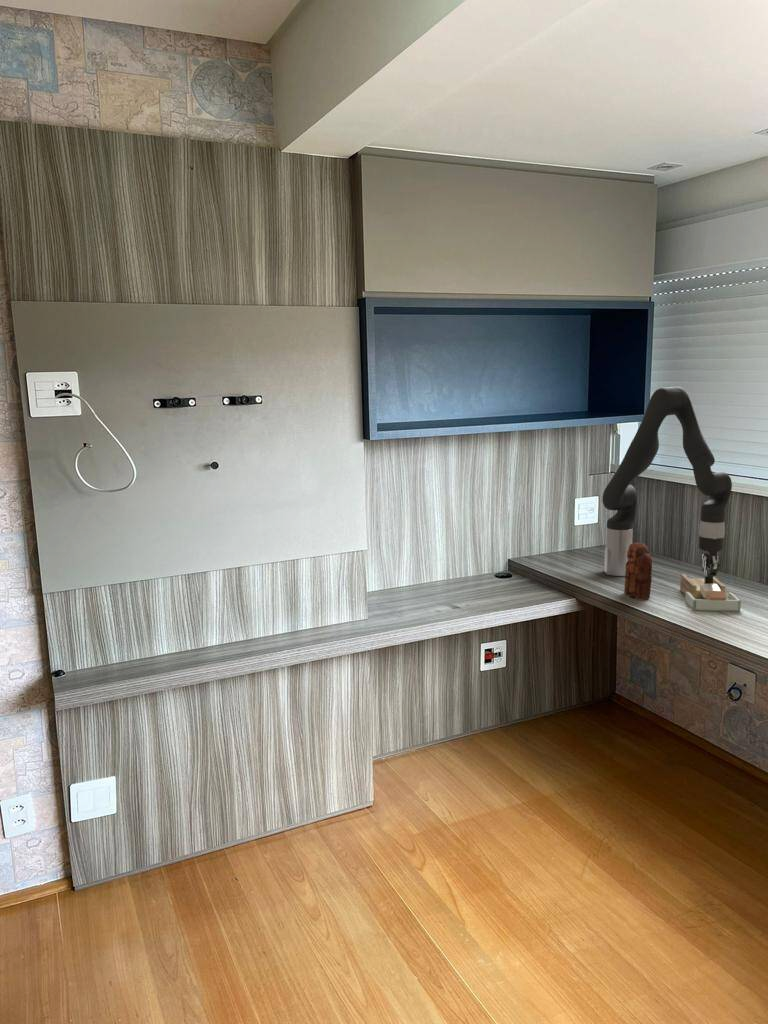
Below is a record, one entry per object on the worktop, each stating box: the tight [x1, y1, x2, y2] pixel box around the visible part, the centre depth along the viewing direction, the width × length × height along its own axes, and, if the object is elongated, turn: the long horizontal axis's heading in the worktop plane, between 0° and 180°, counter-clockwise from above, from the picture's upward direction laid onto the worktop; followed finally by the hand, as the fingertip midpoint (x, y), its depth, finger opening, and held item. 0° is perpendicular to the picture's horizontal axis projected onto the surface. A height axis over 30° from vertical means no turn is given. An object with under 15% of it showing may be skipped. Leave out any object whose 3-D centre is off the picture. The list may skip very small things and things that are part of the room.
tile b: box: [705, 590, 728, 600], centre depth 241 cm, size 5×5×2 cm
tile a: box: [700, 584, 721, 598], centre depth 245 cm, size 5×5×2 cm
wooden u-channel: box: [679, 573, 726, 599], centre depth 255 cm, size 10×15×6 cm, turn 173°
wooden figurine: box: [623, 541, 653, 601], centre depth 256 cm, size 12×6×18 cm, turn 14°
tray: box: [685, 592, 742, 612], centre depth 243 cm, size 14×9×4 cm, turn 83°
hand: (708, 587), depth 248 cm, fingers closed
